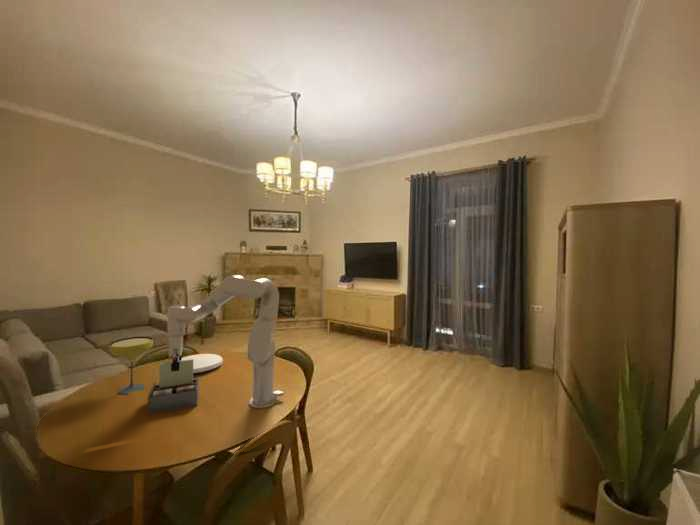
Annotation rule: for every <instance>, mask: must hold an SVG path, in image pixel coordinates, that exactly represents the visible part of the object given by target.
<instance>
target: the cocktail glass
mask: <svg viewBox="0 0 700 525" xmlns="http://www.w3.org/2000/svg"><path fill="white" fill-rule="evenodd" d="M153 340H154V339H153V338H152V337H151V336H133V337H125V338H121V339H117V340H115V341H112V342H110V343H109V346H108V351H109V353H110V354H111V355H113V356H115V357H119V358H123V359H124V358H125V359H126V360H128V361H129V362H130V384H129V385H126V386H124V387H121V388H120V389H119V390H118V391H117V392H118V394H119V395H128V394H129V393H130V392H137V391H143V390H144V389H145V385H144V384H142V383H135V384H134V380H133V378H134V376H133V369H134V368H133V363H134V361H135V360H136V359H137V358H138V357H139V356H140V355H143V354H144V353H146V352H148V351H149V350H151V349H152V348H153V345H154V341H153Z"/></svg>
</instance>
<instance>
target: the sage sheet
mask: <svg viewBox="0 0 700 525" xmlns="http://www.w3.org/2000/svg"><path fill="white" fill-rule="evenodd" d="M171 363H172V361H166V362H159V364H158V367H159V368H158V380H159V381H158V384H159V388H162V387H169V386H175V385H182V384H188V383H193V379H194V373H193V359H189V360H181V361H179V371H171Z"/></svg>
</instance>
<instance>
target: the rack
mask: <svg viewBox="0 0 700 525" xmlns="http://www.w3.org/2000/svg"><path fill="white" fill-rule="evenodd" d="M190 385H194V390H193V391H187V392H181V393H176V390H177V387H183V386H190ZM170 388H172V394H168V395H162V396H156V397H153V392H154V391H157V390H164V389H170ZM199 390H200V377H199V376H196V378H193V383H188V384H182V385H175V386H169V387H162V388H159V383H158V384H157V382H154V383H153V384H152V386H151V389H150V390H149V393H148V395H147V415H148V416H150V415H154V414H160V413H165V412H166V413H167V412H171V411H176V410H182V409H188V408H193V407H198V402H199V393H200V392H199Z"/></svg>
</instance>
